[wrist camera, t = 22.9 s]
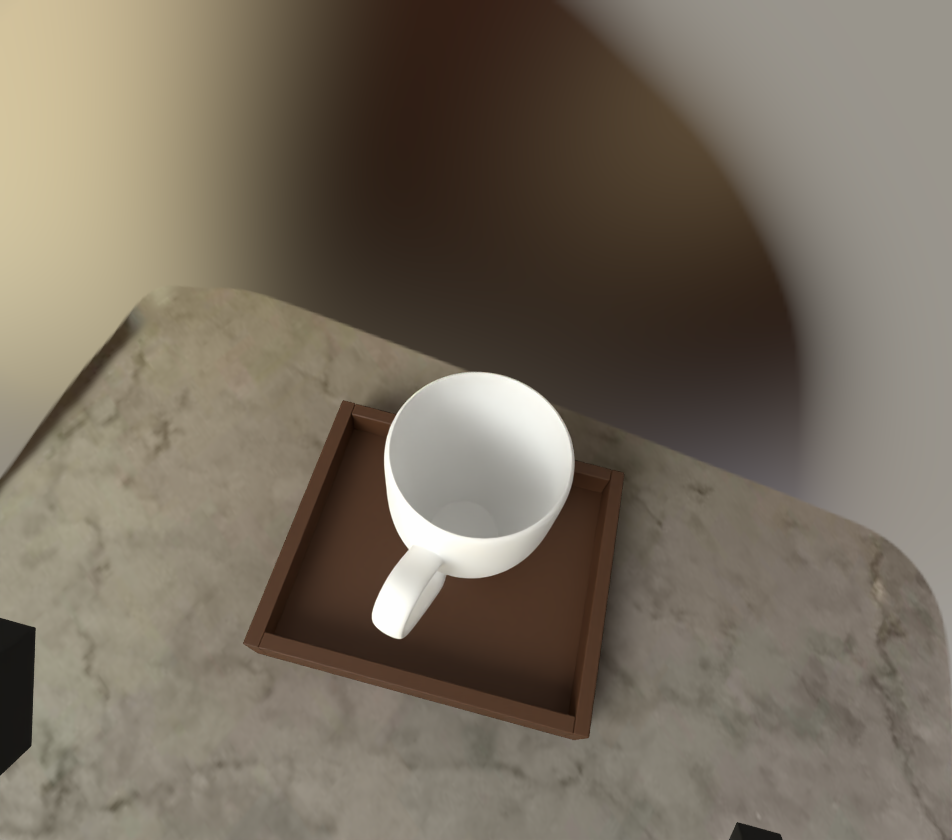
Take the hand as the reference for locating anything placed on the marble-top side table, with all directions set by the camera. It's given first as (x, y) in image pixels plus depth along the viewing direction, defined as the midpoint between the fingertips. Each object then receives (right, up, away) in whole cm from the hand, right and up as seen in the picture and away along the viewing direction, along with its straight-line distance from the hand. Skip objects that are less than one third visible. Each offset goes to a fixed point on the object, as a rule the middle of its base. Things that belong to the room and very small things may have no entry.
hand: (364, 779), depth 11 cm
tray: (0, -2, +25) cm, 25 cm away
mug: (0, -2, +24) cm, 24 cm away
